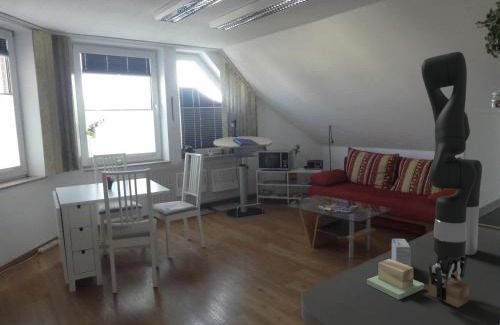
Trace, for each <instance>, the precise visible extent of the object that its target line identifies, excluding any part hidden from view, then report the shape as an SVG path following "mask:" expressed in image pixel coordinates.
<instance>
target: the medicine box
mask: <svg viewBox="0 0 500 325" xmlns="http://www.w3.org/2000/svg"><path fill="white" fill-rule="evenodd" d="M411 252H412V249H411V246H410V245H409V243H408V241H407V240H406V239H405V238H392V239H391V257H390V258H391V260H394V261H397V262H399V263H402V264H405V265H408V266H410V267H412V266H411V265H412V264H411V263H412V262H411V260H412V258H411V257H412V256H411V255H412V254H411Z"/></svg>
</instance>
